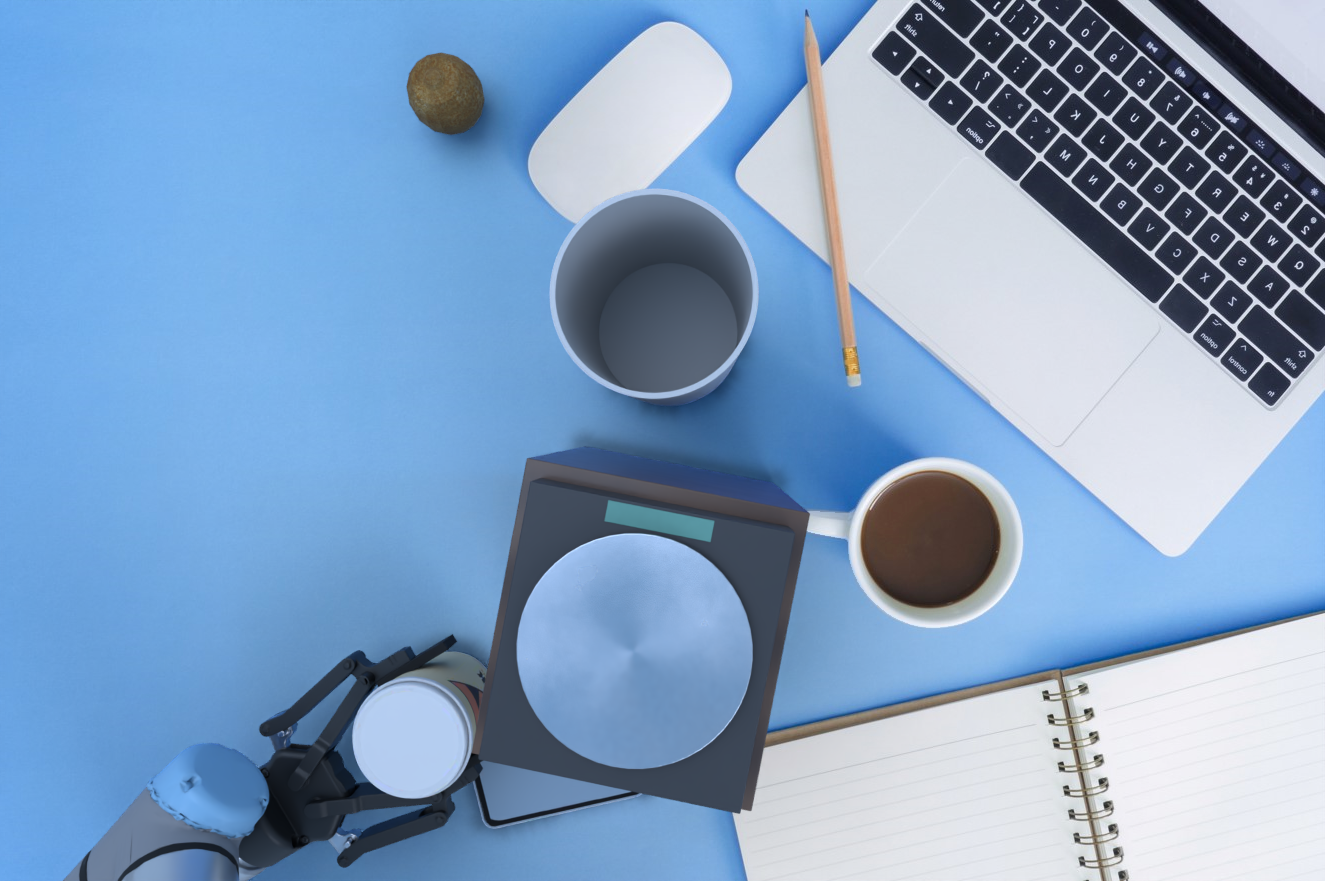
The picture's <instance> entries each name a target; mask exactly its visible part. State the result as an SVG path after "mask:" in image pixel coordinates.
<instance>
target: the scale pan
mask: <svg viewBox="0 0 1325 881" xmlns="http://www.w3.org/2000/svg"><path fill="white" fill-rule="evenodd" d="M516 648H517V665H518V672H519V676H520V680H521V684H522V687H523V690H524V692H525V695H526V697H527V700H528V702H529V704H530V706H531V707H532V709H533V711H534V712H535V714H536V716H537V717H538V718H539V720H540V721H541V722H542V724H543V725H544V726H545V728H546V729H547V730H548V731H549V732H550V733H551V734H552V735H553V736H554V737H555V738H556V739H557V740H559V741H560V742H561V743H563V744H564V745H565V746H566V747H568V748H569V749H571V750H572V751H574V752H576V753H578V754H579V755H581V756H583V757H585V758H587V759H590V760H592V761H595V762H597V763H601V764H604V765H608V766H611V767H618V768H625V769H646V768H655V767H660V766H664V765H668V764H672V763H675V762H677V761H680V760H682V759H685V758H687V757H689V756H691V755H693V754H694V753H696V752H698V751H700V750H701V749H702V748H704V747H705V746H706V745H708V744H709V743H710V742H712V741H713V740H714V739H715V738H716V737H717V736H718V735H719V734H720V733H721V732H722V731H723V730H724V729H725V728H726V726H727V725H728V724H729V723H730V721H731V720H732V719H733V717H734V716H735V714H736V712H737V710H738V709H739V707H740V705H741V703H742V701H743V698H744V696H745V693H746V691H747V688H748V684H749V680H750V677H751V670H752V663H753V642H752V635H751V628H750V624H749V621H748V617H747V613H746V610H745V608H744V606H743V603H742V601H741V599H740V597H739V595H738V593H737V591H736V590H735V588H734V586H733V585H732V583H731V582H730V581H729V579H728V578H727V577H726V576H725V574H724V573H723V572H722V571H721V570H720V569H719V568H718V567H717V566H716V565H715V564H714V563H713V562H712V561H711V560H710V559H708V558H707V557H706V556H704V555H703V554H702V553H700V552H699V551H697V550H696V549H694V548H692V547H690V546H689V545H687V544H685V543H682V542H680V541H678V540H675V539H673V538H669V537H666V536H662V535H658V534H652V533H644V532H623V533H616V534H610V535H606V536H602V537H599V538H595V539H593V540H590V541H588V542H586V543H583V544H581V545H579V546H578V547H576V548H574V549H573V550H571V551H569V552H568V553H567V554H565V555H564V556H563V557H561V558H560V559H559V560H557V561H556V562H555V563H554V564H553V565H552V566H551V567H550V568H549V569H548V570H547V571H546V572H545V573H544V575H543V576H542V577H541V579H540V580H539V581H538V583H537V584H536V585H535V587H534V589H533V591H532V592H531V594H530V596H529V598H528V600H527V602H526V605H525V607H524V610H523V612H522V615H521V619H520V623H519V627H518V634H517V643H516Z"/></svg>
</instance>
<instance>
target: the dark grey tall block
mask: <svg viewBox="0 0 1325 881" xmlns="http://www.w3.org/2000/svg"><path fill="white" fill-rule="evenodd" d="M523 470H524V471H523V476H522V482H521V487H520V492H519V498H518V503H517V508H516V513H515V519H514V524H513V530H512V534H511V539H510V545H509V550H508V556H507V562H506V567H505V573H504V577H503V583H502V589H501V594H500V599H499V605H498V608H497V614H496V619H495V620H496V622H495V626H494V631H493V635H492V641H491V646H490V652H489V657H488V658H489V659H488V663H487V667H486V668H487V673H486V679H485V684H484V689H483V695H482V700H481V705H480V711H479V716H478V721H477V727H476V732H475V737H474V743H473V748H472V753H474V754H479V752H480V747H481V742H482V736H483V731H484V726H485V720H486V715H487V710H488V704H489V699H490V694H491V688H492V683H493V678H494V672H495V667H496V662H497V656H498V651H499V646H500V640H501V635H502V630H503V624H504V619H505V614H506V608H507V603H508V598H509V592H510V587H511V582H512V576H513V571H514V566H515V560H516V555H517V550H518V544H519V539H520V534H521V528H522V523H523V518H524V512H525V507H526V502H527V496H528V491H529V486H530V482H531V481H533V480H536V479H539V478H544V479H549V480H554V481H559V482H564V483H569V484H574V485H579V486H584V487H590V488H595V489H600V490H605V491H610V492H615V493H620V494H625V495H631V496H636V497H641V498H646V499H651V500H656V501H661V502H666V503H671V504H677V505H682V506H687V507H692V508H697V509H702V510H707V511H712V512H717V513H723V514H728V515H733V516H738V517H743V518H748V519H753V520H758V521H763V522H769V523H774V524H779V525H784V526H789V527H790V528H791V529H792V530H793V531H794V533H795V538H794V543H793V548H792V554H791V559H790V564H789V569H788V574H787V579H786V584H785V589H784V594H783V599H782V604H781V609H780V615H779V620H778V625H777V630H776V635H775V640H774V645H773V650H772V655H771V660H770V665H769V671H768V676H767V681H766V686H765V691H764V696H763V701H762V706H761V711H760V716H759V721H758V726H757V732H756V737H755V742H754V747H753V752H752V757H751V762H750V767H749V772H748V777H747V782H746V788H745V793H744V798H743V803H742V808H741V811H742V810H743V811H747V812H752V810H753V805H754V800H755V797H756V796H755V795H756V790H757V785H758V780H759V775H760V771H761V767H762V766H761V765H762V761H763V755H764V750H765V744H766V739H767V735H768V729H769V725H770V721H771V720H770V719H771V715H772V710H773V703H774V699H775V693H776V689H777V685H778V679H779V673H780V668H781V664H782V658H783V654H784V648H785V643H786V638H787V634H788V627H789V623H790V618H791V613H792V607H793V603H794V597H795V592H796V588H797V583H798V577H799V572H800V568H801V562H802V557H803V552H804V547H805V542H806V536H807V531H808V526H809V521H810V517H811V513H810V512H809V511H808V510H807V509H805V508H804V507H803V506H802V505H800V503H798V502H797V501H796V500H795V499H793V498H792V497H791V496H790V495H788V494H787V493H786V492H785V491H784V490H783V489H782V488H780V487H779V486H778V485H777V484H776V483H774V482H772V481H767V480H761V479H756V478H752V477H747V476H742V475H736V474H731V473H726V472H721V471H715V470H711V469H705V468H701V467H695V466H691V465H685V464H679V463H675V462H669V461H664V460H658V459H653V458H649V457H643V456H637V455H633V454H627V453H622V452H617V451H613V450H606V449H601V448H598V447H597V448H596V447H591V446H587V445H586V446H579V447H575V448H570V449H565V450H560V451H555V452H551V453H550V452H549V453H546V454H540V455H535V456H531V457H527V458H526V460H525V465H524V469H523Z"/></svg>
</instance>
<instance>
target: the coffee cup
mask: <svg viewBox="0 0 1325 881" xmlns="http://www.w3.org/2000/svg"><path fill="white" fill-rule="evenodd" d="M487 668H488V667H486V666H485V665H484V664H483V663H482V661H480V660H478V659H477V658H476V657H474V656H473V655H470V654H468V653H465V652H461V651H445V652H444V653H442V654H440V655H439V656H437V657H435V658H434V659H432V660H430V661H429V662H427V663H425V664H423V665H422V666H420V667H418V668H417V669H415V670H413V671H411V672H407V673H405V674H402V675H400V676H398V677H397V678H395V679H394V680H392V681H389V682H387V683H385V684H383V685H381V686H380V687H378V686H377V687H376V689H373V691H372V692H371V694H370V695H369V696H368V697H367V698H366V699H365V701H364V702H363V704H362V705H361V707H360V709H359V710H358V713H357V715H356V716H355V718H354V720H353V725H352V733H351V734H352V736H351V740H352V749H353V754H354V757H355V760H356V762H357V765H358V767H359V769H360V771H361V773H362V774H363V776H364V777H365V778H366V779H367V780H368V782H370V783H371V784H373V785H374V786H376V787H377V788H378V789H380V790H381V791H383V792H385V793H387V794H390V795H393V796H396V797H401V798H413V799H415V798H424V797H429V796H432V795H435V794H437V793H439V792H441V791H443V790H445V789H446V788H448V787H449V786H450V785H451V784H453V783H454V782H455V781H456V780H457V779H458V777H459V776H460V775H461V774H462V772H463V771H464V769H465V767H466V765H467V763H468V761H469V758H470V755H471V753H472V748H473V743H474V737H475V732H476V727H477V721H478V716H479V711H480V705H481V700H482V695H483V689H484V684H485V679H486V673H487Z"/></svg>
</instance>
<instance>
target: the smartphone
mask: <svg viewBox="0 0 1325 881" xmlns="http://www.w3.org/2000/svg"><path fill="white" fill-rule="evenodd" d="M480 764H481V765H482V767H483V770H482V771H481V773H480V774H479V776H478V777H477V778H476V780H475V781H473V782H472V785H473V789H474V792H475V797H476V800H477V804H478V808H479V811H480V812H479V813H480V816H481V820H482V823H483V824H484V826H486V827H487V828H488V829H493V830H496V829H500V828H505V827H509V826H514V825H518V824H522V823H527V822H528V823H529V822H531V821H536V820H540V819H541V820H542V819H545V818H550V817H553V816H559V815H562V814H568V813H571V812H576V811H581V810H586V809H590V808H594V807H599V806H602V805H603V806H604V805H607V804H613V803H617V802H620V801H625V800H630V799H634V798H635V799H636V798H639V797H640V796H641V795H643V794H642V793H637V792H632V791H627V790H622V789H618V788H613V787H608V786H603V785H599V784H594V783H589V782H584V781H579V780H575V779H570V778H565V777H560V776H555V775H551V774H546V773H541V772H536V771H532V770H527V769H522V768H517V767H512V766H508V765H503V764H498V763H493V762H489V761H482V762H480Z"/></svg>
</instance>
